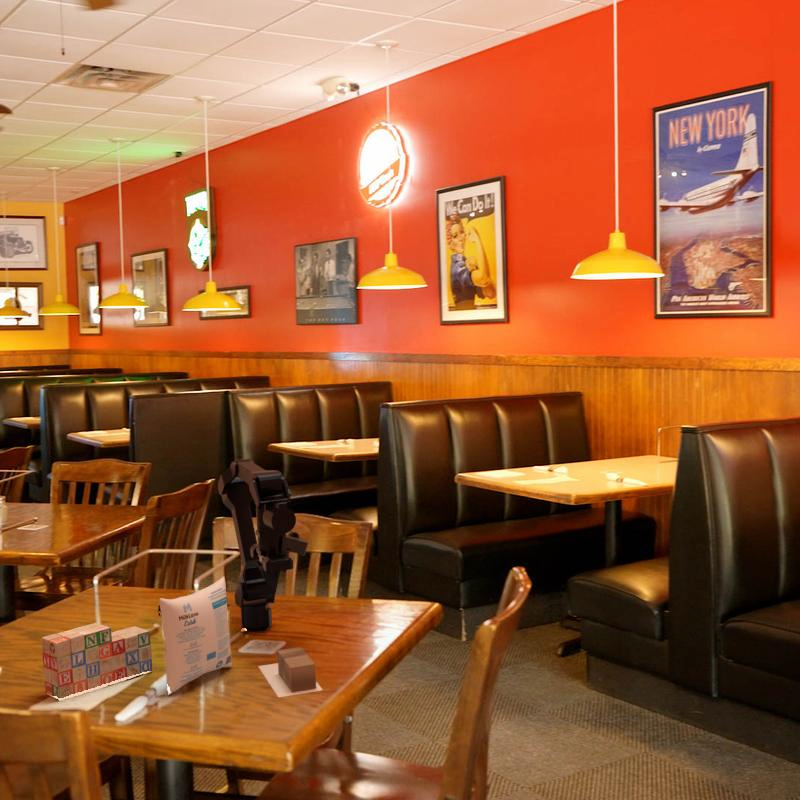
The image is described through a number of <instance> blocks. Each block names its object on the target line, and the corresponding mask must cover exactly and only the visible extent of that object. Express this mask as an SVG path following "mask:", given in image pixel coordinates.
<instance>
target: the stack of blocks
mask: <svg viewBox="0 0 800 800" xmlns="http://www.w3.org/2000/svg"><path fill="white" fill-rule="evenodd" d="M41 643H42V653H41V654H42V664H43V671H44V672H43V673H44V687H45V694H46V693H48V694H50V695H52V696H57V697H58V698H64V697H66V696H69V695H71V694H75V693H78V692H82V691H84V690H88V689H91V688H95V687H97V686H101V685H102V684H106V683H110V682H112V681H115V680H118V679H121V678H124V677H129V676H132V675H136V674H140V673H142V672H147V671H153V654H152V653H153V651H152V645H151V632H150V630H148V629H145V628H141V627H138V626H136V625H135V626H134V625H133V626H130V627H127V628H123V629H119V630H116V631H112V627H110V626H107V625H103V624H100V623H98V622H94V623H90V624H87V625H86V624H85V625H82V626H79V627H75V628H72V629H69V630H66V631H65V630H64V631H61V632H57V633H54V634H50V635H49V634H48V635H45V636H42V637H41Z"/></svg>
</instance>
